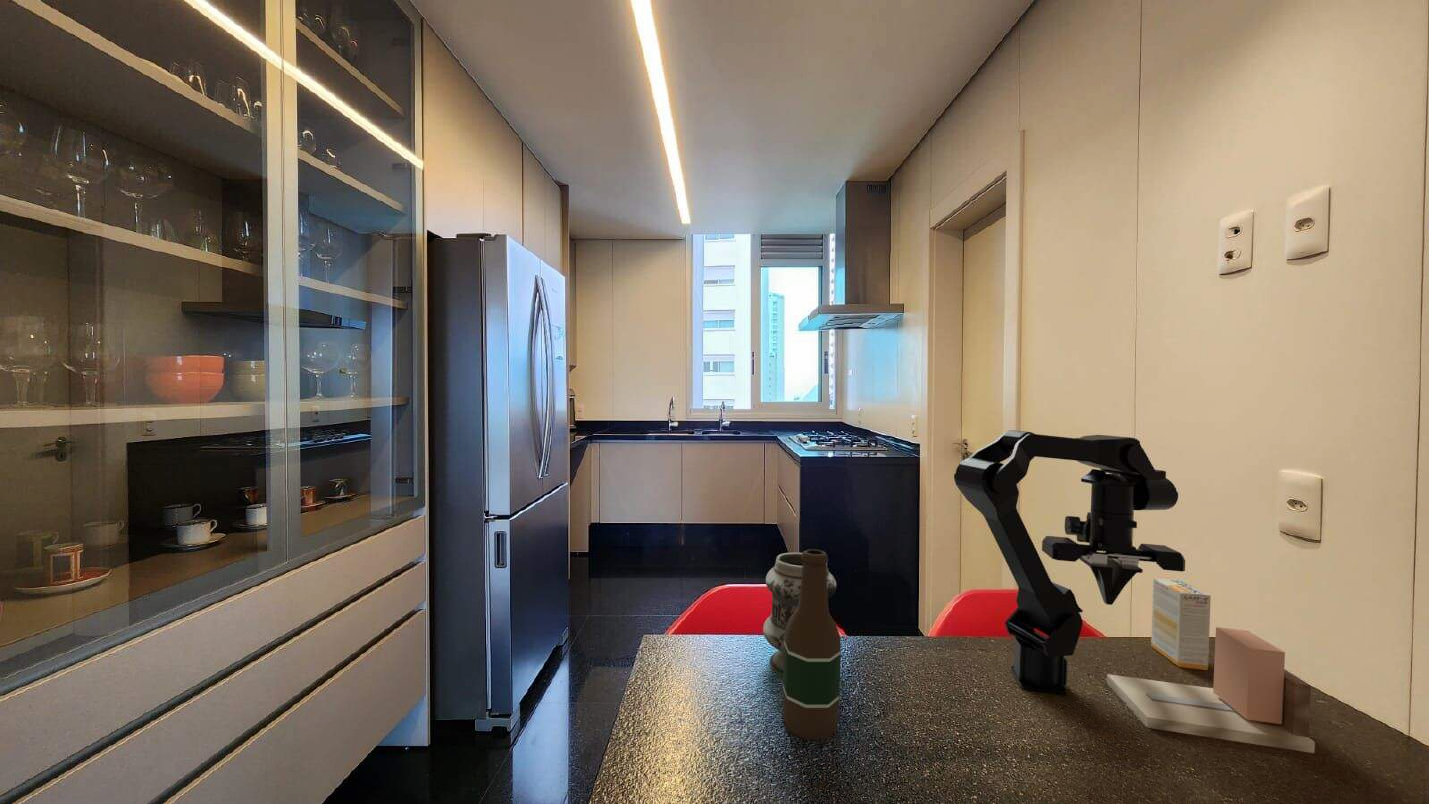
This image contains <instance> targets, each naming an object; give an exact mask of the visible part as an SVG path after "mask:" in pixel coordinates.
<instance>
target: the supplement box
mask: <svg viewBox="0 0 1429 804" xmlns="http://www.w3.org/2000/svg"><path fill="white" fill-rule="evenodd" d="M1211 598H1212V597H1211V595H1210V594H1209V593H1207V592H1204V591H1202V590H1201V589H1198V588H1196V587H1195V586H1192V585H1191V584H1188V583H1187V582H1184V581H1182V580H1179V579H1178V580H1177V579H1168V578H1167V579H1164V578H1153V583H1152V605H1151V606H1152V609H1151V611H1152V612H1151V614H1152V615H1151V638H1150V639H1151V641H1150V646H1151V648H1152V649H1154V650H1155V651H1157V652H1158V653H1160V654H1161V655H1162V656H1164V657H1165V658H1166V659H1168V660H1169V661H1171V663H1173V664H1174V665H1176V666H1177V667H1179V668H1183V669H1184V668H1186V669H1193V670H1194V669H1195V670H1204V671H1208V669H1209V657H1210V656H1209V655H1210V625H1211V603H1212V602H1211Z"/></svg>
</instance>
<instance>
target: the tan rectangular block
mask: <svg viewBox="0 0 1429 804" xmlns="http://www.w3.org/2000/svg"><path fill="white" fill-rule="evenodd" d="M1214 640H1215V641H1214V643H1215V645H1214V663H1213V664H1214V666H1213V667H1214V668H1213V687H1212V688H1213V693H1215V694H1216V695H1217V696H1218V697H1220V698H1221V699H1222V700H1223V701H1225V702H1226V703H1227V704H1228V705H1229V706H1231V707H1232V708H1233V709H1234V710H1236V711H1237V712H1238V713H1239V714H1241V715H1242V716H1243V717H1244V718H1246V719H1248V720H1255V721H1262V722H1269V723H1276V724H1282V708H1283V686H1284V669H1285V663H1286V662H1285V661H1286V659H1285V658H1286V657H1285V656H1286V652H1285V651H1283V650H1282V649H1280V648H1278V647H1277V646H1275V645H1274V644H1272V643H1270V642H1269V641H1266V640H1265V639H1263V638H1261V637H1259V636H1258V635H1257V634H1255V633H1253V632H1252V631H1249V630H1245V629H1237V628H1228V627H1217V626H1216V627H1215V639H1214Z"/></svg>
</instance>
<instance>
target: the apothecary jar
mask: <svg viewBox="0 0 1429 804" xmlns="http://www.w3.org/2000/svg"><path fill="white" fill-rule="evenodd" d="M801 555H802V552H785V553H781V554H778V555H777V556H776V558H775V564H774V566H773V567H772V568H770V570H769V571H768V572H767V574H766V576H765V584H766V588H767V589H768V590H769V591H770V593H771V594H772V595H771V596H772V598H771V600H772V601H771V611H770V613H771V614H770V615H769V616H768V617H767V618H766V620H765V622H764V623H763V627H762V630H763V631H762V632H763V636H764V638H765V640H766V641H767V642H768V644H769V645H770V646H772V647H773V648H774V649H775V650H777V651H776V652H774V653H773V654H772V655H771V656H770V658H769V667H770V668H771V669H772V670H773V671H774V672H775V673H776V674H778V675H779V676H782V677H783V663H784V638H785V628H786V626H787V623H788V621H789V618H790V617H791V615H792V614H793V613H794V611H795V610H796V609H797V607H798V602H799V598H800V588H801V578H802V567H803V560H802V559H801ZM826 572H827V602H828V608H829V605H830V604H829V603H830V602H829V601H830V598H831V597H832V596H833V595H834V594H835V593H836V591H837V581H836V579H835V577H834V575H833V574H832V573H831V572H830V571H829V568H828V562H827V563H826Z"/></svg>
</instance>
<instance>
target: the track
mask: <svg viewBox="0 0 1429 804" xmlns="http://www.w3.org/2000/svg"><path fill="white" fill-rule="evenodd" d="M1106 684H1107V685H1108V687H1109V688H1110V689H1111V688H1112V689H1111V690H1112V691H1113V693H1115V694H1116V696H1118V697H1119V699H1120V700H1121V701H1122V702H1123V703H1124V702H1125V703H1126V704H1125V703H1124V704H1125V705H1126V707H1128V709H1129V710H1131V712H1132V711H1133V712H1132V713H1133V714H1134V715H1135V716H1136V717H1137V719H1138V720H1139V721H1140V722H1141V723H1142V724H1143V725H1144V726H1145V727H1146V728H1148V729H1154V730H1160V731H1165V732H1166V731H1167V732H1174V733H1180V734H1187V735H1193V736H1199V737H1200V736H1201V737H1205V738H1206V737H1207V738H1212V739H1219V740H1226V741H1231V742H1239V743H1246V744H1251V745H1252V744H1253V745H1257V746H1258V745H1259V746H1265V747H1272V748H1276V749H1278V748H1279V749H1284V750H1292V751H1297V752H1303V753H1304V752H1305V753H1311V754H1315V749H1316V742H1315V741H1314V740H1313V739H1312V738H1310V737H1309V733H1310V715H1311V714H1310V713H1311V712H1310V711H1311V709H1310V708H1311V690H1312V685H1311V684H1309V683H1308V682H1306V681H1305V680H1303V679H1301V678H1300V677H1297V675H1295V674H1293V673H1292V672H1290V671H1288V670H1287V669H1286V668H1284V686H1283V708H1282V724H1276V723H1269V722H1262V721H1255V720H1248V719H1246V718H1244V717H1243V716H1242V715H1241V714H1239V713H1238V712H1237V711H1236V710H1234V709H1233V708H1232V707H1231V706H1229V705H1228V704H1227V703H1226V702H1225V701H1223V700H1222V699H1221V698H1220V697H1218V696H1217V695H1216V694H1215V693H1213V687H1206V686H1200V685H1199V686H1198V685H1189V684H1182V683H1177V682H1167V681H1159V680H1153V679H1145V678H1140V677H1130V676H1123V675H1116V674H1106Z"/></svg>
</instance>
